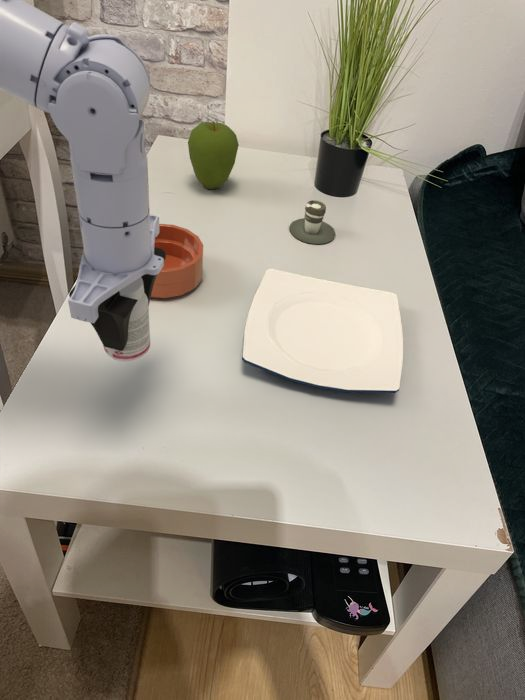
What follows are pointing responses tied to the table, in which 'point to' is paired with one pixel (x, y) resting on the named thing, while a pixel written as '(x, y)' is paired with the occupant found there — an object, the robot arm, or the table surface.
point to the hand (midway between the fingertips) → (125, 329)
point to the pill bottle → (135, 325)
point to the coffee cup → (313, 225)
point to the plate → (325, 333)
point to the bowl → (178, 261)
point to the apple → (212, 153)
